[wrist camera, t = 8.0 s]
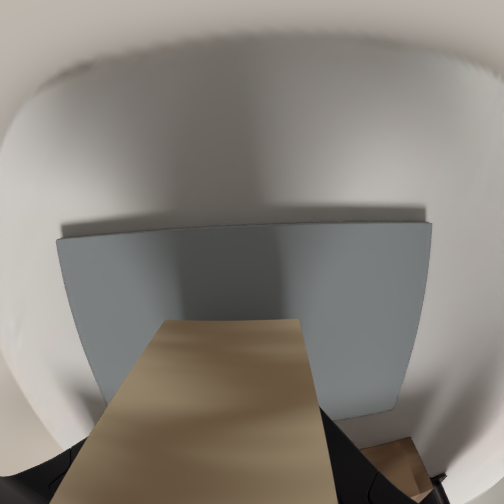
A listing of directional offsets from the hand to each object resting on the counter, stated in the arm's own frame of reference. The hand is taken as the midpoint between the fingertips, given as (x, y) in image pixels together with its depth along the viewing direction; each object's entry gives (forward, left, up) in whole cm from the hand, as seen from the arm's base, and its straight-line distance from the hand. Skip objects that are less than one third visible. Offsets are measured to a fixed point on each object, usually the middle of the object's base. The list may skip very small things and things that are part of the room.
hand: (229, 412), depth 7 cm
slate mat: (0, 0, -4) cm, 4 cm away
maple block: (0, 0, -2) cm, 2 cm away
